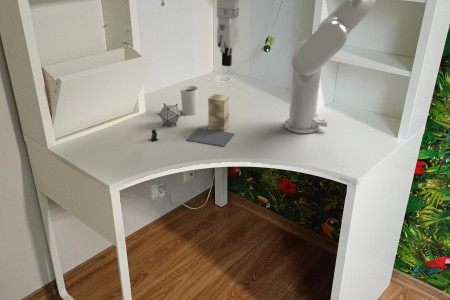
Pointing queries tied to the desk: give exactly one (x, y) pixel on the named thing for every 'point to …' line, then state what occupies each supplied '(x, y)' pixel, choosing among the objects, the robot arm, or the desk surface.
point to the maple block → (218, 112)
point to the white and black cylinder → (189, 100)
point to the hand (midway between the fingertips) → (226, 65)
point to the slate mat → (210, 137)
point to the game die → (170, 114)
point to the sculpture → (153, 136)
